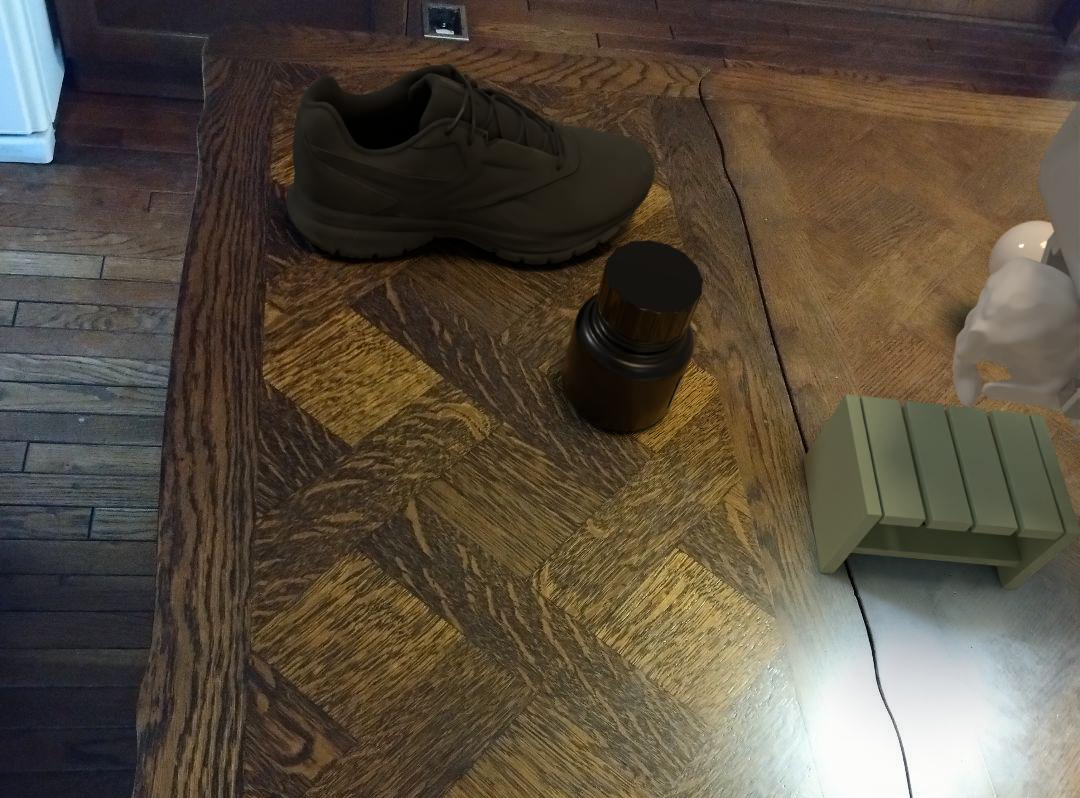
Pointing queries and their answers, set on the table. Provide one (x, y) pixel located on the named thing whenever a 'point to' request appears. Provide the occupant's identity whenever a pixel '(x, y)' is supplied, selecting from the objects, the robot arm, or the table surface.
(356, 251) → the running shoe
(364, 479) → the table surface
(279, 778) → the table surface
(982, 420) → the stool
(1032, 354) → the white animal figurine
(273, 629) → the table surface
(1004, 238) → the lightbulb
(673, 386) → the ink bottle
